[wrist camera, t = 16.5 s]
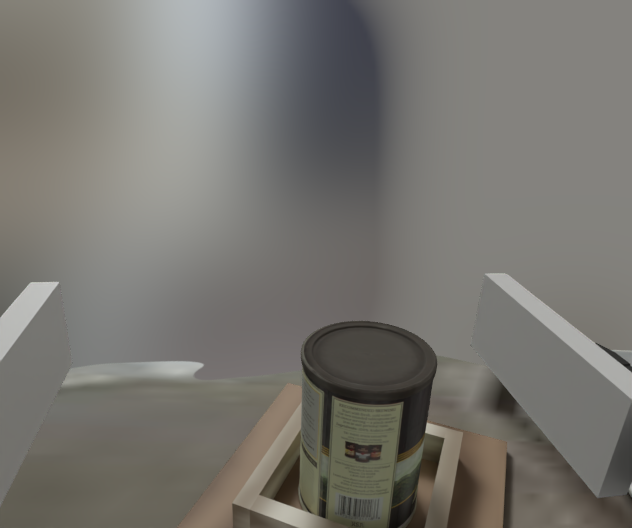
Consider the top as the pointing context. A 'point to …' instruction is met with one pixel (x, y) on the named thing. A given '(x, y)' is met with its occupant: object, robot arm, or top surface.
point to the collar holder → (295, 524)
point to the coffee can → (363, 423)
